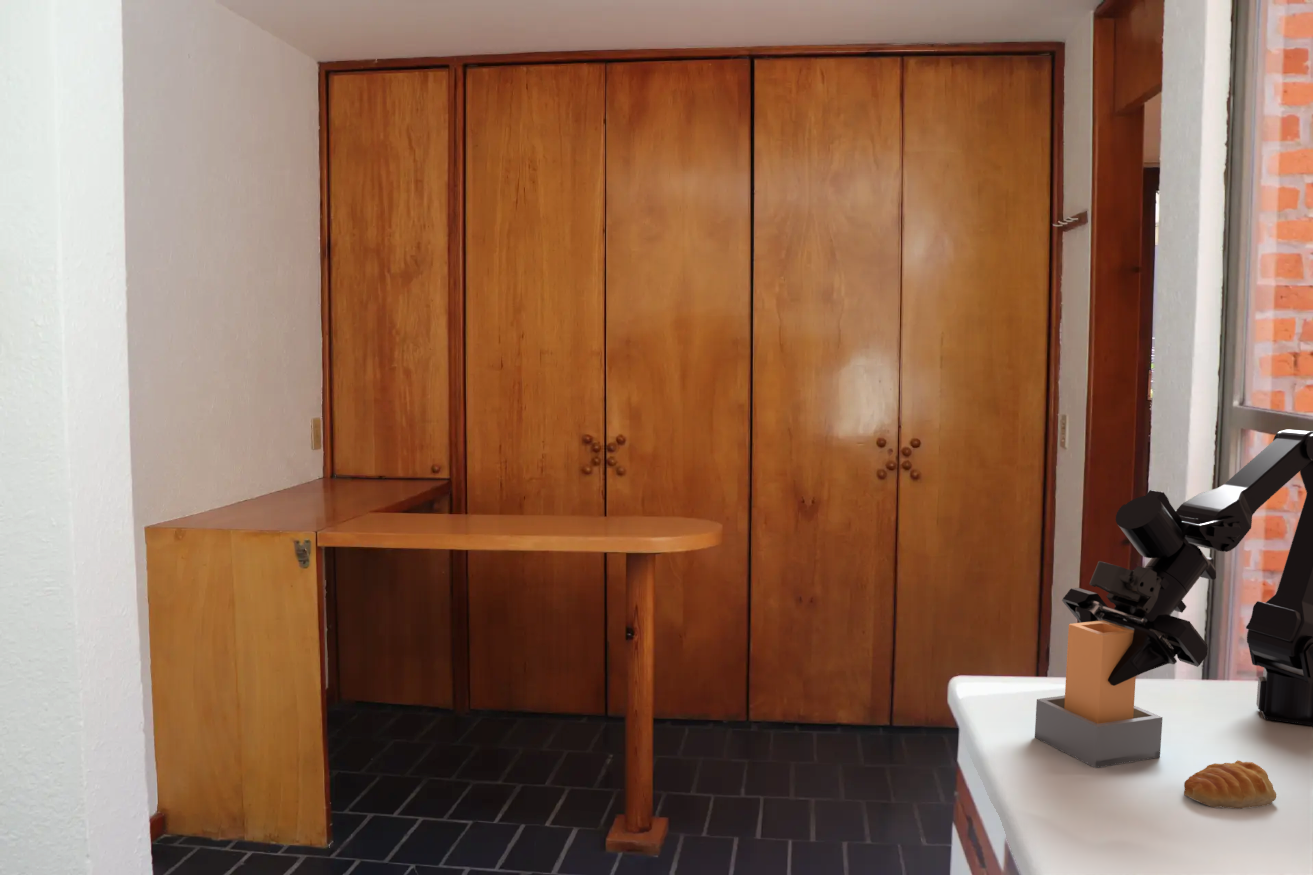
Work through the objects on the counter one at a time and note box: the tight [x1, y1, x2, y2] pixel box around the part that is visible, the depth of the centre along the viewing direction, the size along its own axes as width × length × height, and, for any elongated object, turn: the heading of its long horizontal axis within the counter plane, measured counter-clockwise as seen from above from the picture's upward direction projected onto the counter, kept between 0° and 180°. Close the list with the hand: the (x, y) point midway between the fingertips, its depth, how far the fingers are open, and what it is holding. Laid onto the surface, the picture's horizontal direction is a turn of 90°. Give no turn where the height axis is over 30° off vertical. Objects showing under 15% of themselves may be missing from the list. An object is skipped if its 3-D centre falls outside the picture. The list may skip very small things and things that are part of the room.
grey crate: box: [1034, 694, 1163, 769], centre depth 130 cm, size 10×10×5 cm
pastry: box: [1183, 759, 1277, 810], centre depth 116 cm, size 9×7×4 cm
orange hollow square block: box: [1064, 620, 1137, 724], centre depth 129 cm, size 6×6×12 cm
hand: (1091, 675), depth 129 cm, fingers closed on orange hollow square block, 6 cm apart
